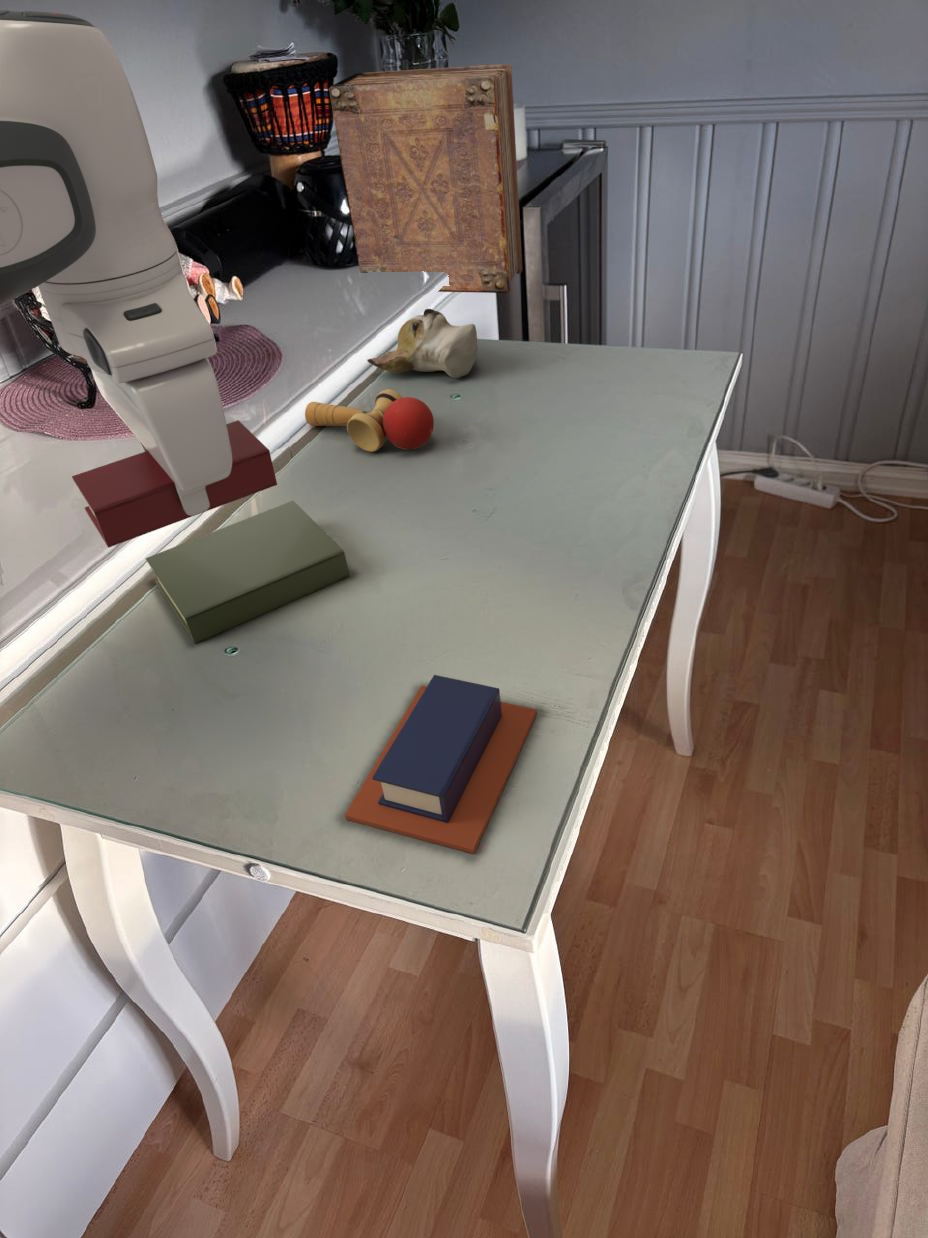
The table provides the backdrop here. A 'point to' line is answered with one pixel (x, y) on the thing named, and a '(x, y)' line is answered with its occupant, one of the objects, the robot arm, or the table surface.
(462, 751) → the navy book
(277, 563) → the olive book
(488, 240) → the book
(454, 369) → the ceramic sculpture
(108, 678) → the table surface
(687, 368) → the table surface
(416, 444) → the kendama
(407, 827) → the rubber mat
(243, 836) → the table surface
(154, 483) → the burgundy book
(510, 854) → the table surface
